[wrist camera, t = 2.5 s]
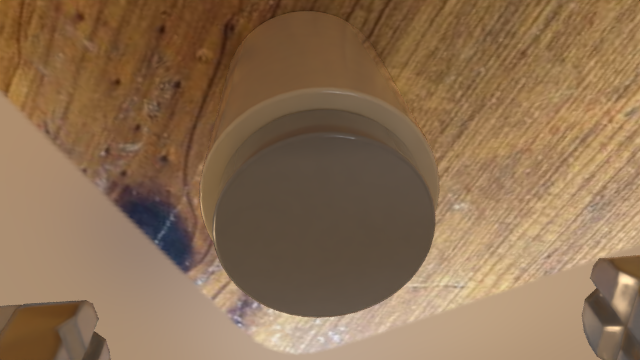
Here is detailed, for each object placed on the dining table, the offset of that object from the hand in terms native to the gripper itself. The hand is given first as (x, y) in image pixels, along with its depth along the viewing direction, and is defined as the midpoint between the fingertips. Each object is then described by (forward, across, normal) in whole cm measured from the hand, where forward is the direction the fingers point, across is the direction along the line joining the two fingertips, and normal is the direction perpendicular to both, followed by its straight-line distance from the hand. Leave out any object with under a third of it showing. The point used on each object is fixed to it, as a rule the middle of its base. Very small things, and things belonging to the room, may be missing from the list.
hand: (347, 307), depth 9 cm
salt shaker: (+10, 0, 0) cm, 10 cm away
